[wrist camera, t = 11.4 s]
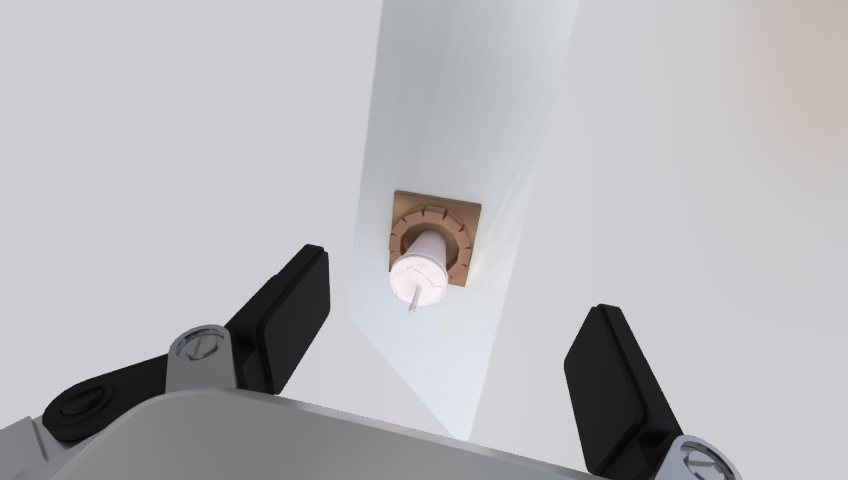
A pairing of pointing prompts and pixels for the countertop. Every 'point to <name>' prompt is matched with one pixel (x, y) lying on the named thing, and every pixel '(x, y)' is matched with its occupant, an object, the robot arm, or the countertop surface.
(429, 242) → the smoothie
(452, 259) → the ring board
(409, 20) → the countertop surface
